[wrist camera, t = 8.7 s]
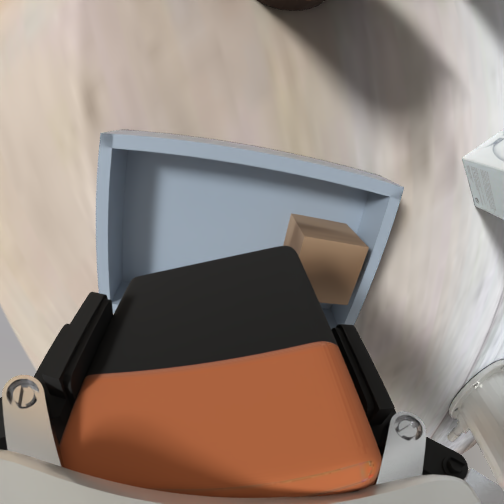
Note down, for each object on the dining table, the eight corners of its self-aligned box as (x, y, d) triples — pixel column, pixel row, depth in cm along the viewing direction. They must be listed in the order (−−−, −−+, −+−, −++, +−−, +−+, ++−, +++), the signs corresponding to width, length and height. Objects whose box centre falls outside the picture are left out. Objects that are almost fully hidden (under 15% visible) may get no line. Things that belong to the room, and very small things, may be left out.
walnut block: (330, 274, 22) (347, 305, 18) (277, 267, 21) (286, 298, 18) (346, 223, 20) (368, 247, 17) (291, 213, 20) (304, 236, 16)
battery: (128, 273, 12) (28, 512, 3) (293, 238, 12) (409, 511, 3) (164, 351, 14) (131, 557, 5) (305, 325, 14) (371, 542, 4)
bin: (334, 313, 24) (346, 340, 21) (115, 284, 22) (100, 310, 19) (379, 175, 20) (404, 187, 16) (121, 129, 17) (100, 133, 14)
